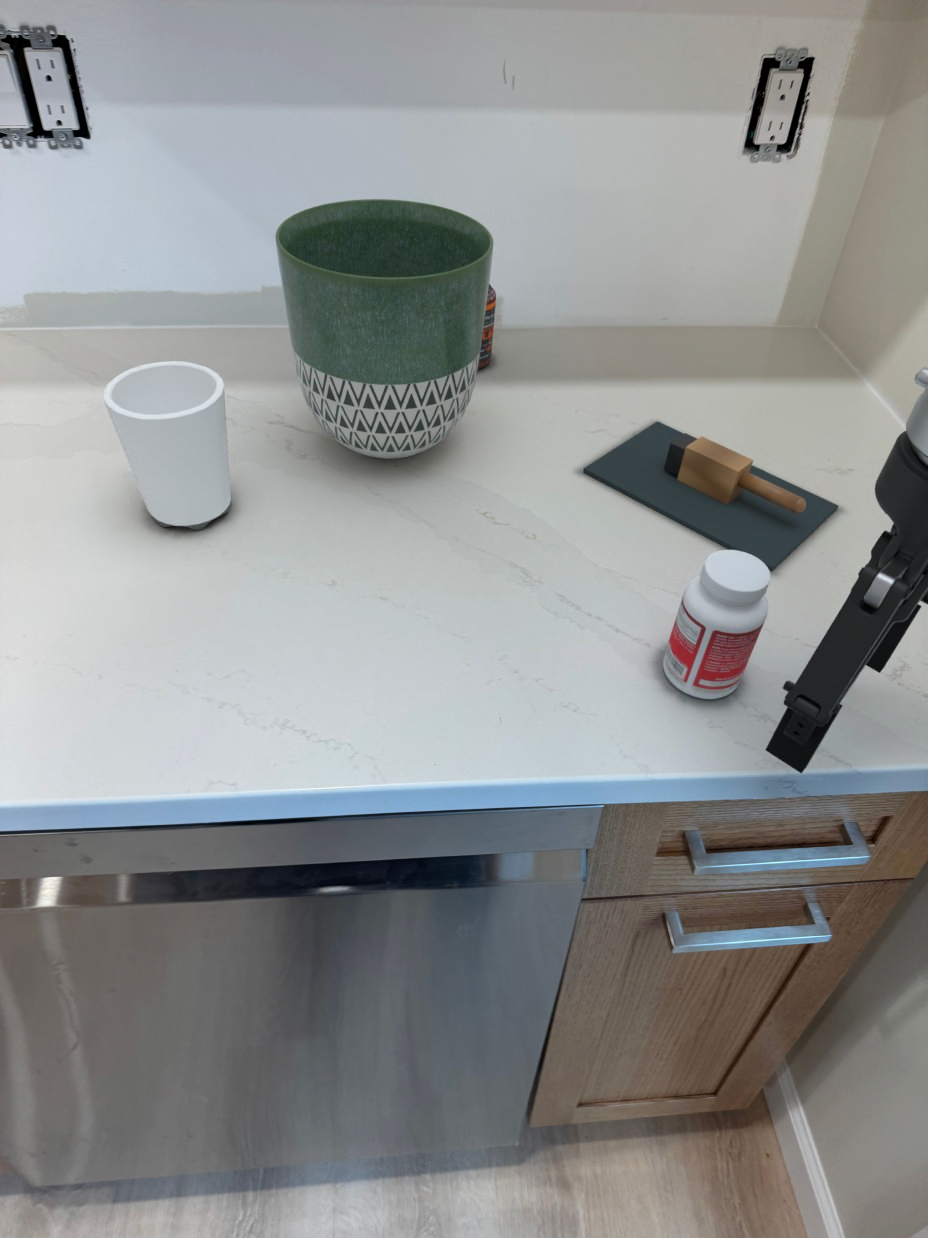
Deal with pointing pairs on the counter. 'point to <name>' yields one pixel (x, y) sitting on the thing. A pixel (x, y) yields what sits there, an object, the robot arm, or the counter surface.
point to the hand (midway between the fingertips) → (827, 707)
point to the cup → (174, 439)
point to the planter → (385, 318)
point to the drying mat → (709, 499)
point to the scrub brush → (722, 473)
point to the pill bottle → (717, 625)
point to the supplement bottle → (488, 329)
